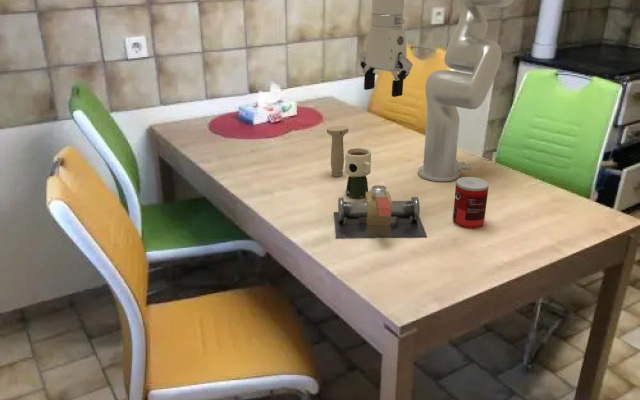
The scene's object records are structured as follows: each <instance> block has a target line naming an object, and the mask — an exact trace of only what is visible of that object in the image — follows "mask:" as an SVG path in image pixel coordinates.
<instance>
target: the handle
mask: <svg viewBox="0 0 640 400" xmlns="http://www.w3.org/2000/svg"><path fill="white" fill-rule="evenodd" d="M348 133H349V127H348V126H346V125H332V126H328V127H326V134H327V135H329V136H331V146H330V147H331V149H330V153H331V154H330V167H331V168H330V169H331V175H332V177H334V178H335V177H336V178H340V177H342V176H343V173H344V167H345V165H344V164H345V152H344V151H345V149H344V136H345V135H346V134H348Z"/></svg>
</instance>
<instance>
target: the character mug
mask: <svg viewBox="0 0 640 400" xmlns="http://www.w3.org/2000/svg"><path fill="white" fill-rule="evenodd" d="M344 162H345V163H344V164H345V165H344V172H345V174H346V175H347V176H348V177H347V183H346V189H345V193H346V195H348V194H349V195H348V197H351V198H362V197H364V196H365V195H366V192H369V183H368V177H367V176H368V175H370V174H371V171H372V170H371V166H372V152H371V150H370V149H368V148H365V147H350V148H347V149H345V152H344Z"/></svg>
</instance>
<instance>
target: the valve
mask: <svg viewBox="0 0 640 400" xmlns="http://www.w3.org/2000/svg"><path fill="white" fill-rule="evenodd" d="M371 192H372V191H368V192H366V195H365V197H364V198H365V200H364V201H361V200H359V201H358V200H356V201H347V200H346V201H344V197H338V199H337V200H338V201H337V211H335V212H333V218H334V229H335V239H390V238H391V239H397V238H398V239H399V238H402V239H406V238H409V239H411V238H428V236H427V233H426V230H425V227H424V225H423V223H422V219H421V217H420V209H421V207H420V199H419V197H418V196H412V197H411V200H392V197H391V194H390V193H391V192H390V191H386V197H388V200H389V203H390V207H391V213H390V216H378V213H377V209H376V200H375V198H374V197H372V196H371Z"/></svg>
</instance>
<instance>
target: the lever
mask: <svg viewBox="0 0 640 400" xmlns="http://www.w3.org/2000/svg"><path fill="white" fill-rule="evenodd" d="M370 192H371V196H372V197H374V198H375V200H376V209H377V213H378V216H390V213H391V207H390V203H389V200H388V197H386V192H387V187H386V186H384V185H380V184H379V185H375V184H374V185H373V186H371V191H370Z"/></svg>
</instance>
